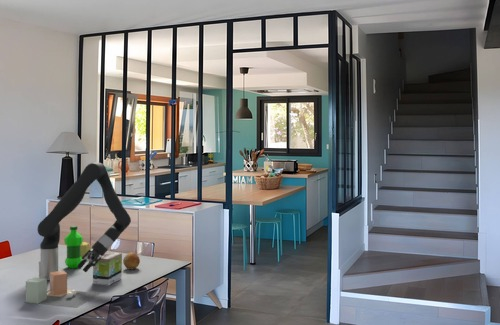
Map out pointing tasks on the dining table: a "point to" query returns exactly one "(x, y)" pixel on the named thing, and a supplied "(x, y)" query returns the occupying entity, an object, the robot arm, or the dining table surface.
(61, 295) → the mat
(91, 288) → the dining table surface
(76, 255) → the plastic bottle
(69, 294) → the marble
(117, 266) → the tea box
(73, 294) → the marble
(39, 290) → the grey-green block
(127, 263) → the onion
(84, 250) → the cheese
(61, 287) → the orange block
